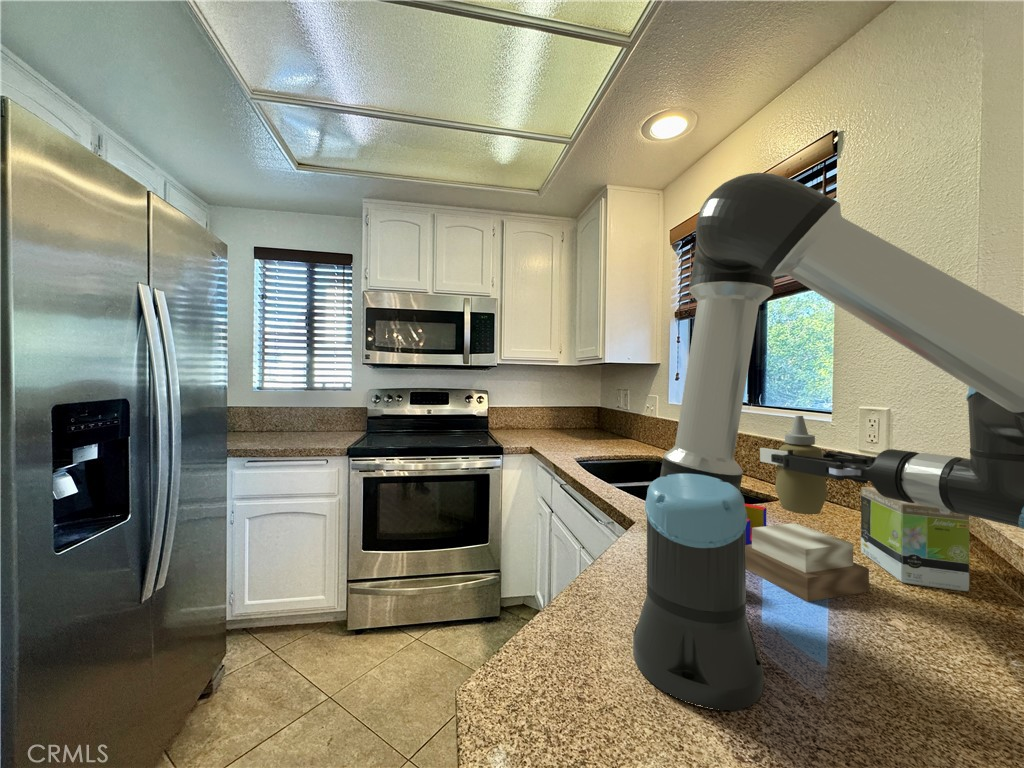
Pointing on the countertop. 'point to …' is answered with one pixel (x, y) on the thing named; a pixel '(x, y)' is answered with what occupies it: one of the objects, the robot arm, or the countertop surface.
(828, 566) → the box on wooden base
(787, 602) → the countertop surface
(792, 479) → the squeeze bottle
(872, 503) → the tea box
